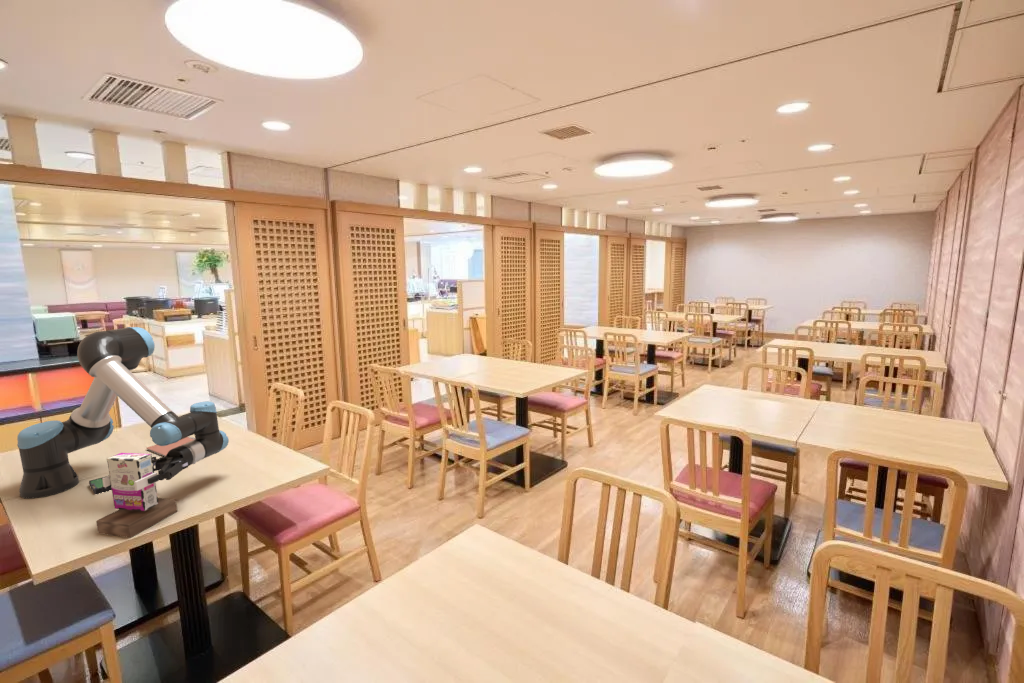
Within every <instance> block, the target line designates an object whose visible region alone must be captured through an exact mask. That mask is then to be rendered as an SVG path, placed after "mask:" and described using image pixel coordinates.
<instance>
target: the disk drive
mask: <svg viewBox="0 0 1024 683" xmlns="http://www.w3.org/2000/svg"><path fill="white" fill-rule="evenodd" d="M107 476H110V475H109V474H108V475H106V476H102V477H98V478H95V479H91V480H89V481H88V484H89V488H90V487H91V488H90V489H91V491H92V492H93V493H94V495H95V494H97V495H99V493H100V494H103V493H102V492H104V493H106V491H107V492H110V491H109V490H111V491H112V488H111V485H110V486H107V487H104V486H103V480H102V479H103V478H105V477H107Z"/></svg>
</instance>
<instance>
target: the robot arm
mask: <svg viewBox="0 0 1024 683" xmlns="http://www.w3.org/2000/svg"><path fill="white" fill-rule="evenodd" d="M155 348H156V347H155V341H154V339H153V336H152V335H151V334H150V332H149V331H148V330H147V329H145V328H143V327H138V326H131V327H130V326H127V327H124V328H122V327H121V328H115V329H108V330H101V331H99V330H98V331H94V332H92V333H90V334H88V335H86V336H85V337H84V338H83V339H82V340H81V341H80V343H79V344H78V347H77V351H76V352H77V353H76V354H77V359H78V363H79V365H80V366H81V368H82V369H83V370H84V371H85V372H86V373H87V374H88V375H89V376H91V377H92V378H93V380H92V382H91V384H90V385H89V388H88V391H87V392H86V394H85V397H84V398H83V400H82V402H81V405H80V406H79V407H77V408H75V409H73V410H72V412H71V414H70V416H69V418H68V419H67V420H64V421H62V420H47V421H43V422H39V423H35V424H32V425H29V426H27V427H26V428H25V427H24V428H23V429H22V430H20V432H18V434H17V439H16V440H17V444H16V446H17V448H18V452H19V456H20V461H21V467H22V472H23V474H22V478H21V481H20V485H19V490H18V491H19V496H20V498H22V497H23V499H38V498H44V497H48V496H52V495H56V494H59V493H63V492H66V491H68V490H70V489H72V488H74V487H75V486H77V485H78V484H79V483H80V479H79V475H78V474H77V472H76V471H75V470H74V468H73V466H72V465H71V463H70V460H69V455H68V454H71V453H74V452H76V451H78V450H82V449H84V448H88V447H90V446H91V447H92V446H94V445H98V444H99V443H101V442H104V441H105V440H107V439H109V438H110V437H111V435H112V434H113V432H114V428H115V427H114V425H113V424H114V421H113V419H112V417H111V414H110V411H111V409H112V407H113V405H114V404H115V401H116V399H117V397H118V398H119V399H121V401H122V402H124V404H126V406H128V407H129V408H130V409H131V410H132V411H133V412H134V413H135V414H136V415H137V416H138V417H139V418H140V419H141V420H142V421H144V423H146V424H147V425H148V426H149V427H150V430H149V437H150V438H151V441H152V442H153V443H154V445H159V446H166V445H169V444H172V443H176V442H178V441H179V440H181V439H184V438H186V437H189V436H190V437H192V436H193V435H194V438H195V440H192V441H190V442H187V443H185V444H183V445H181V446H178V447H176V448H173V449H171V450H170V451H169V452H168V453H167V455H166V457H163V456H161V457H159V458H157V456H152V461H153V468H154V473H153V474H151V475H148V476H146V477H144V478H142V479H139V480H137V481H135V482H134V485H135V491H138V490H140V489H142V488H144V487H146V486H149V485H151V484H153V483H155V482H156V483H157V482H159V481H164V480H166V481H170V480H172V479H173V478H174V477H175V476H177V475H178V474H179V473H181V472H182V471H183V470H185V469H188V468H189V467H190V466H191V465H196V463H198V462H200V461H202V460H204V459H206V458H208V457H210V456H213V455H216V454H218V453H219V452H221V451H223V450H224V449H226V448H227V446H228V445H229V436H227V433H226V432H225V431H223V430H220V428H219V421H218V414H217V413H218V412H217V409H216V405H215V403H214V402H213V401H199V402H196V403H193V404H191V405H190V407H189V412H188V413H184V414H182V415H179V416H178V415H177V414H176V413H175V412H174V411H173V410H172V409H171V408H169V406H167V404H166V403H164V402H163V401H162V400H161V399H160V398H159V397H158V396H157V395H156V394H155V393H153V390H152V391H151V389H149V388H148V386H146V385H145V384H144V383H143V382H142V381H141V380H140V379H139V378H138V377H137V376H136V375H135V374H134V373H133V372H132V371H134V370H136V369H137V368H138V366H139V364H140V363H141V361H142V359H143V358H149V357H150V356H151V355H153V353H154V351H155ZM106 476H107V477H106ZM106 476H104V477H105V478H103V479H102V480H103V486H104V487H107V486H110V485H111V482H110V476H109V475H106Z"/></svg>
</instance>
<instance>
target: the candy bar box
mask: <svg viewBox="0 0 1024 683" xmlns="http://www.w3.org/2000/svg"><path fill="white" fill-rule="evenodd" d="M152 457H153V456H152V453H135V452H120V453H117V454H115V455H113V456H110V457H107V458H106V462H107V468H108V473H109V474H108V476H109V475H110V482H111V488H112V490H111V493H112V499H113V506H114V509H115V510H119V509H124V510H138V511H146V510H148V509H150V508H152V507H154V506H156V505H157V504H158V498H159V497H158V491H157V490H158V489H157V482H155V483H153V484H151V485H149V486H146V487H144V488H142V489H140V490H138V491H135V485H134V482H135V481H137V480H139V479H142V478H144V477H146V476H148V475H151V474H153V473H155V471H154V468H155V467H154V468H153V461H152Z"/></svg>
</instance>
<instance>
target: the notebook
mask: <svg viewBox="0 0 1024 683" xmlns="http://www.w3.org/2000/svg"><path fill="white" fill-rule="evenodd" d="M192 440H195V437H193V436H188V437H186V438H184V439H181V440H179V441H178V442H176V443H172V444H169V445H166V446H159V445H157V444H154V445H151V446H148V447H146V450H147V451H148V450H149V452H151V453H153V452H154V453H153V454H157V455H158V454H159V456H161V455H162V456H161V457H163V456H164V457H166V455H167V453H168V452H169V451H170V450H171V449H173V448H176V447H178V446H181V445H183V444H185V443H187V442H190V441H192Z"/></svg>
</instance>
